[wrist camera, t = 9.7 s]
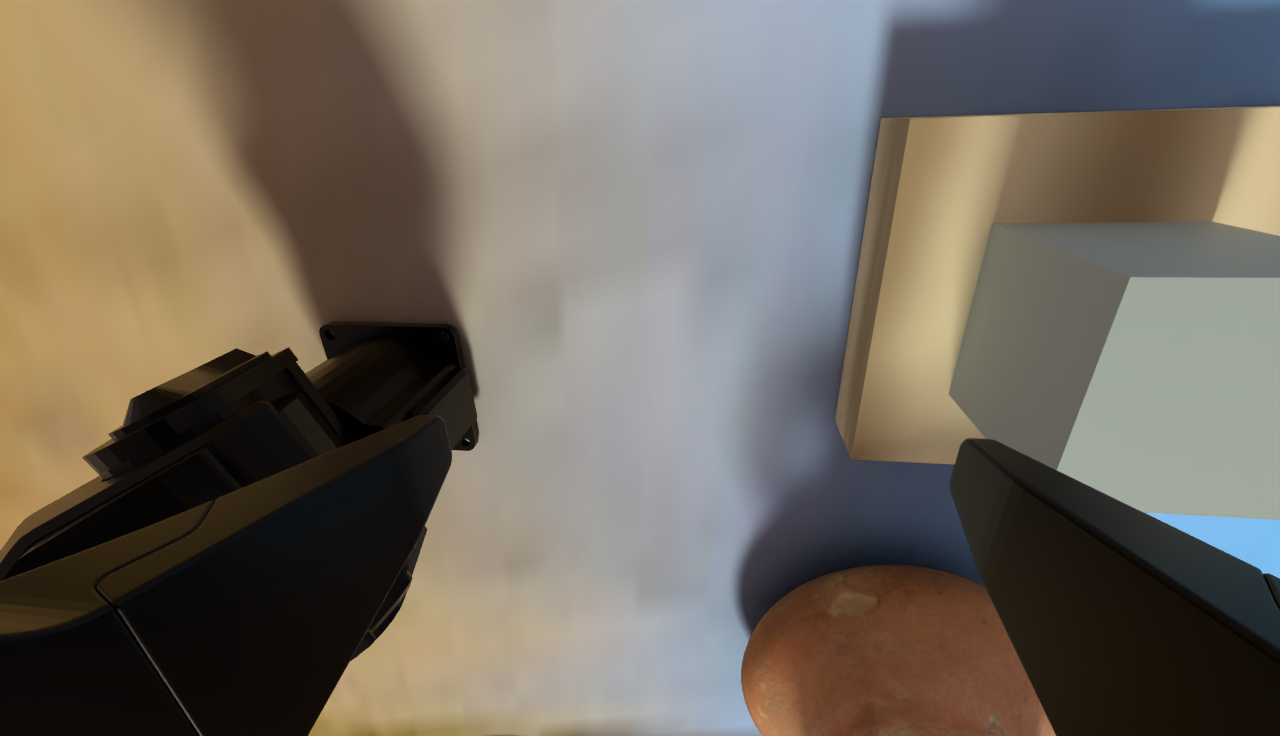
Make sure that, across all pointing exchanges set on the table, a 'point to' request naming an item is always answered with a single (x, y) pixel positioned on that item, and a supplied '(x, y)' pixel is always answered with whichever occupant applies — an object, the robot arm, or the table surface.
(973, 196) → the birch board
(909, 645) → the ceramic jug
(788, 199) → the table surface
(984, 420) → the gray cube
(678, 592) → the table surface
